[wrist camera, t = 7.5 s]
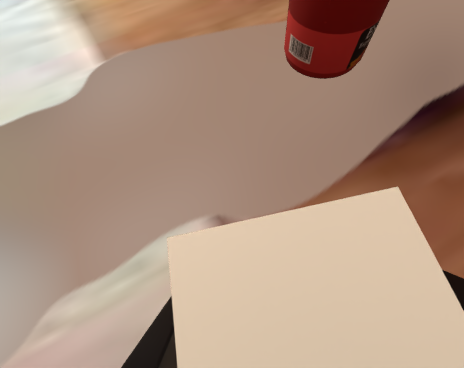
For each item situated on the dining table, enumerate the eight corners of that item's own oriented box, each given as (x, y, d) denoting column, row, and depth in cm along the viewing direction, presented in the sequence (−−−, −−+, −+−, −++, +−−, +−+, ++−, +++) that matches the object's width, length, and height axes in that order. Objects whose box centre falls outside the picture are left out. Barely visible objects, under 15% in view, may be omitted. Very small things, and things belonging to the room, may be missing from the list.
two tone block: (323, 330, 14) (592, 554, 3) (246, 346, 14) (198, 622, 3) (299, 250, 16) (397, 186, 5) (231, 264, 16) (166, 237, 5)
